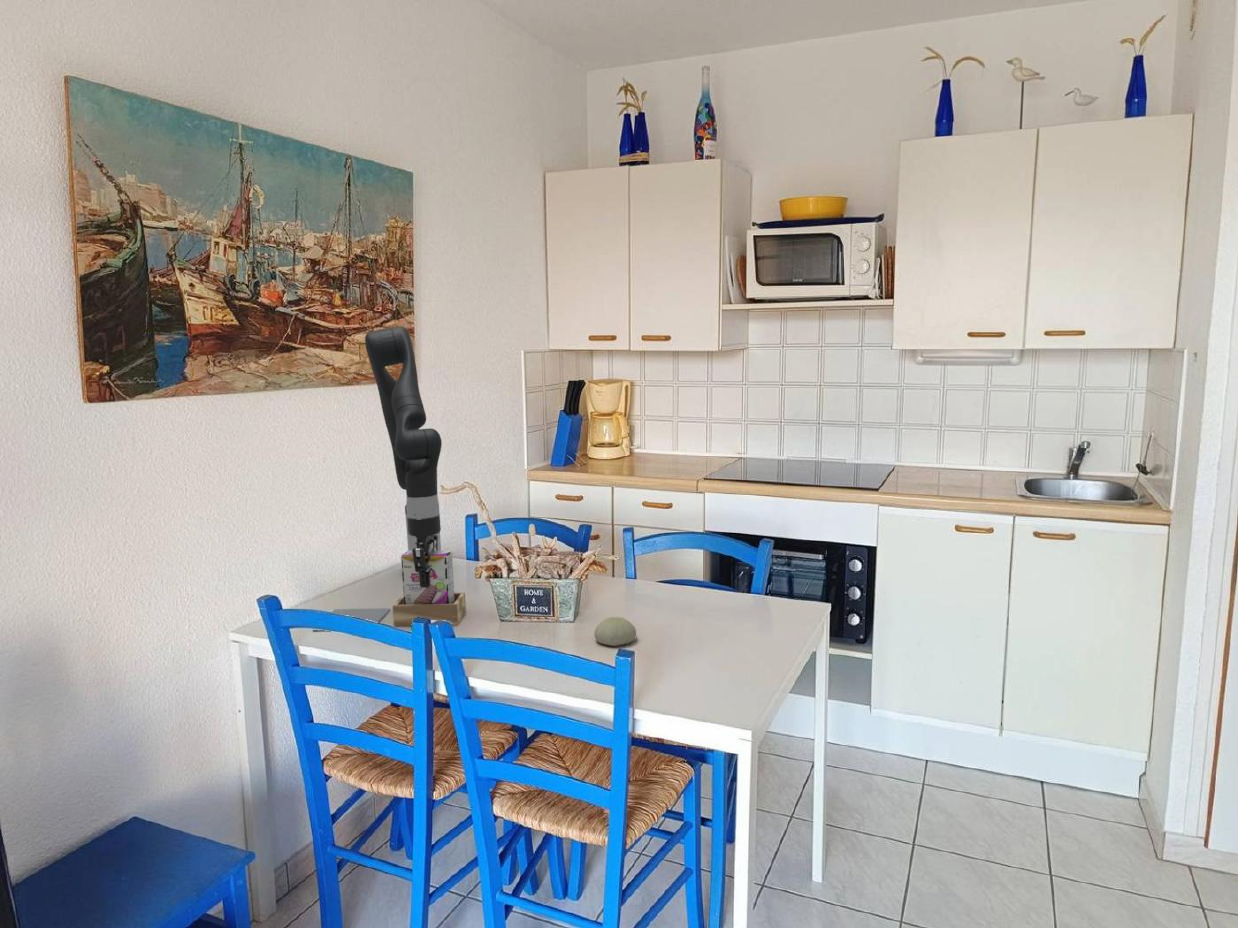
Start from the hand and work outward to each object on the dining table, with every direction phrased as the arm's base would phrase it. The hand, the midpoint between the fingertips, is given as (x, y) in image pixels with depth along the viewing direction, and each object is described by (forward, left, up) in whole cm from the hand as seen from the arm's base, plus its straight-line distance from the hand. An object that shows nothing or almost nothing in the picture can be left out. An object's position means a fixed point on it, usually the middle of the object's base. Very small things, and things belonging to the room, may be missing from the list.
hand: (428, 583), depth 204 cm
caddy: (0, 0, -9) cm, 9 cm away
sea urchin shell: (+16, +45, -9) cm, 49 cm away
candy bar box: (0, 0, -9) cm, 9 cm away
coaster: (0, -19, -9) cm, 21 cm away
